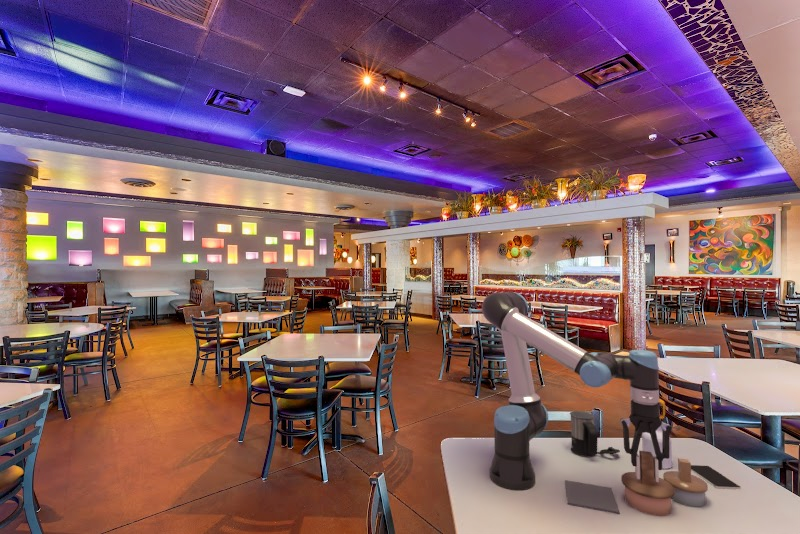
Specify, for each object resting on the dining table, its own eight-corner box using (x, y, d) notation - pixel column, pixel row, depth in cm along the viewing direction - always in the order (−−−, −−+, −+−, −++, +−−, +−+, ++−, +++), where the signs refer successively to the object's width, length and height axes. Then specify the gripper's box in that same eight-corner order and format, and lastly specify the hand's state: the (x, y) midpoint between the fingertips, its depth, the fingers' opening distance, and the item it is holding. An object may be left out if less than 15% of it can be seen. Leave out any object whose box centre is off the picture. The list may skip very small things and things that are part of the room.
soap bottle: (644, 455, 148) (642, 392, 149) (673, 462, 142) (671, 396, 143) (641, 464, 141) (639, 397, 142) (671, 472, 135) (669, 402, 136)
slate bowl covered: (669, 503, 116) (668, 465, 116) (659, 485, 126) (658, 450, 127) (714, 511, 112) (713, 472, 113) (699, 491, 123) (698, 455, 123)
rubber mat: (567, 504, 116) (567, 502, 116) (565, 481, 129) (565, 479, 129) (619, 514, 111) (619, 512, 111) (611, 489, 124) (611, 487, 124)
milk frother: (565, 448, 154) (564, 411, 155) (596, 443, 159) (595, 408, 160) (592, 464, 141) (591, 424, 141) (625, 458, 145) (624, 419, 146)
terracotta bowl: (629, 510, 113) (628, 492, 113) (621, 489, 124) (621, 473, 124) (677, 519, 108) (676, 500, 108) (664, 497, 120) (664, 480, 120)
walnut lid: (626, 493, 112) (625, 459, 113) (617, 472, 125) (617, 441, 125) (681, 502, 107) (680, 467, 108) (666, 479, 120) (665, 447, 121)
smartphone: (708, 465, 139) (742, 487, 124) (708, 469, 139) (742, 490, 124) (685, 464, 139) (716, 486, 124) (685, 468, 139) (716, 490, 124)
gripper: (615, 401, 117) (617, 479, 116) (682, 408, 111) (684, 489, 110) (611, 395, 124) (613, 467, 123) (673, 400, 118) (676, 477, 117)
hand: (646, 478), depth 116 cm, fingers open, 4 cm apart
